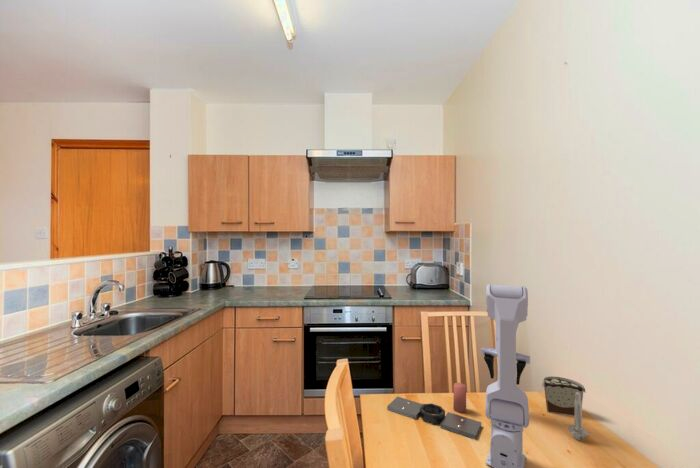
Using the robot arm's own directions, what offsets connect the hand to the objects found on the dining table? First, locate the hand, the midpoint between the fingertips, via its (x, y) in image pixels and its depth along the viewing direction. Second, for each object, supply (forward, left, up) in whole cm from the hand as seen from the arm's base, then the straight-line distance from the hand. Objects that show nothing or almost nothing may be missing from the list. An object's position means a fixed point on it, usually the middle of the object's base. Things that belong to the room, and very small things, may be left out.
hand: (504, 380), depth 103 cm
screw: (-4, -19, -10) cm, 22 cm away
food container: (+12, -15, -10) cm, 22 cm away
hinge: (-18, +19, -10) cm, 28 cm away
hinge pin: (-8, +13, -10) cm, 18 cm away
